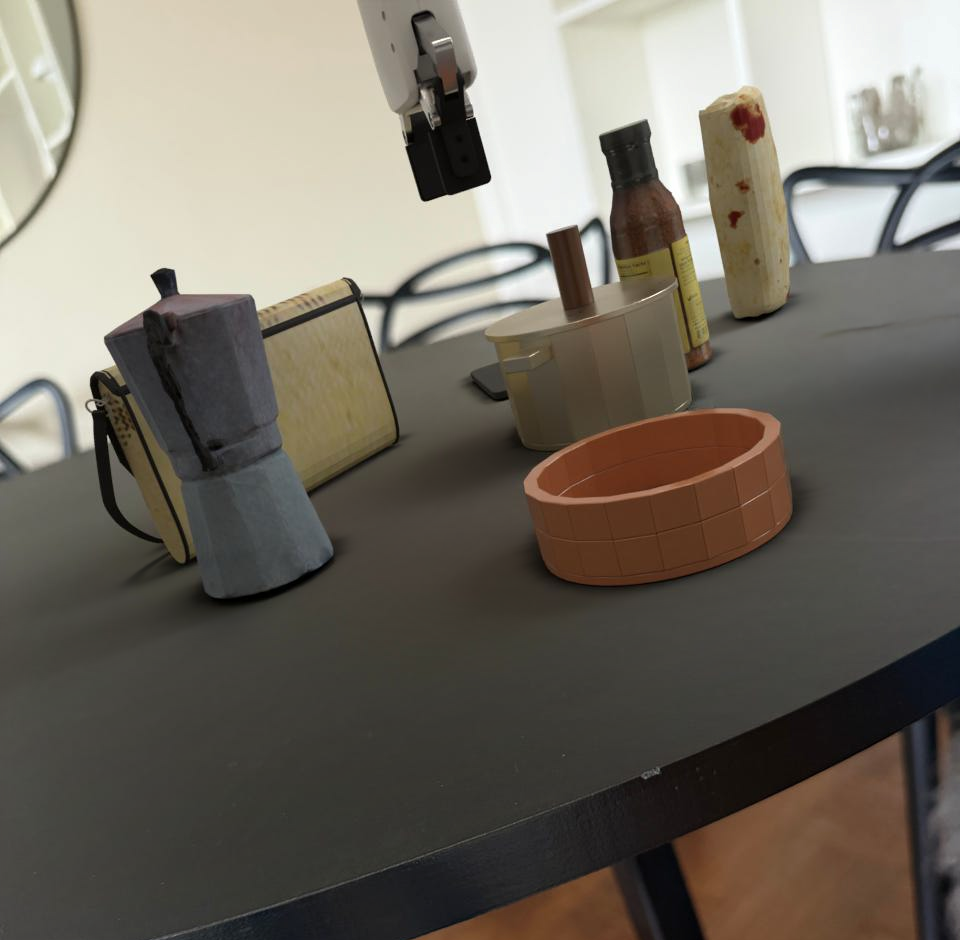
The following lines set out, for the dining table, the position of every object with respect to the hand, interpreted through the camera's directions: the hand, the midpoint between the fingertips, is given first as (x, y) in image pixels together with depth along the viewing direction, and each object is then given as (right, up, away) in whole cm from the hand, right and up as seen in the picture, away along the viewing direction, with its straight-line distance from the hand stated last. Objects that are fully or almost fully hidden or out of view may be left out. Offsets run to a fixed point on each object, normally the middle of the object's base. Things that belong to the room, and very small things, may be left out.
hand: (455, 193), depth 72 cm
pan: (+12, -26, -16) cm, 32 cm away
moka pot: (-12, -28, -4) cm, 30 cm away
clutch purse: (-15, -20, +14) cm, 29 cm away
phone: (+6, -5, +32) cm, 33 cm away
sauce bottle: (+19, -8, +17) cm, 27 cm away
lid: (+9, -7, +5) cm, 13 cm away
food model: (+30, +1, +29) cm, 42 cm away
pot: (+12, -14, +9) cm, 20 cm away
